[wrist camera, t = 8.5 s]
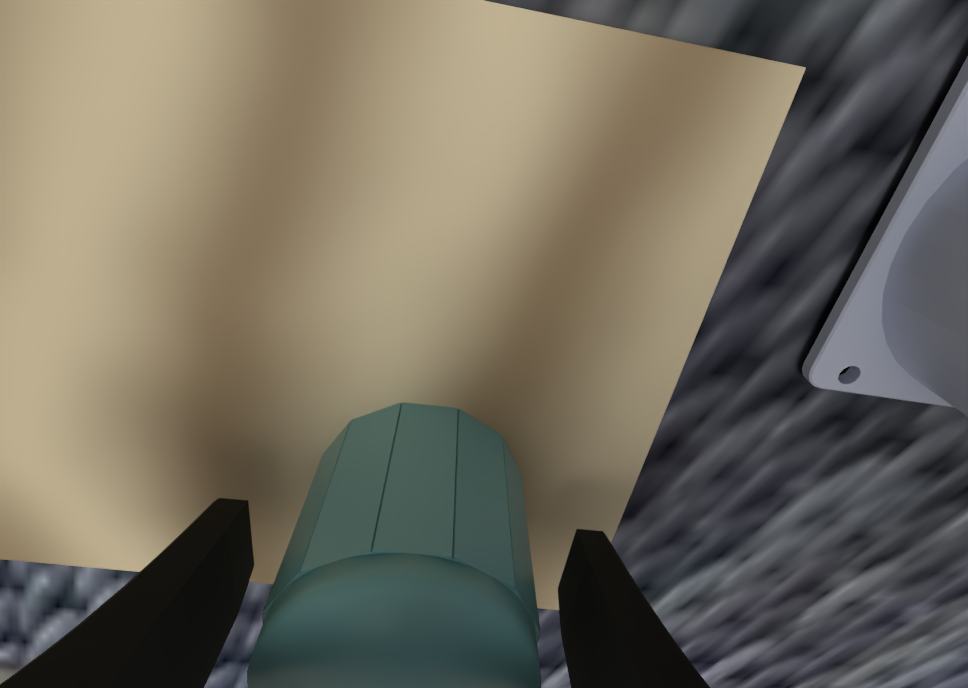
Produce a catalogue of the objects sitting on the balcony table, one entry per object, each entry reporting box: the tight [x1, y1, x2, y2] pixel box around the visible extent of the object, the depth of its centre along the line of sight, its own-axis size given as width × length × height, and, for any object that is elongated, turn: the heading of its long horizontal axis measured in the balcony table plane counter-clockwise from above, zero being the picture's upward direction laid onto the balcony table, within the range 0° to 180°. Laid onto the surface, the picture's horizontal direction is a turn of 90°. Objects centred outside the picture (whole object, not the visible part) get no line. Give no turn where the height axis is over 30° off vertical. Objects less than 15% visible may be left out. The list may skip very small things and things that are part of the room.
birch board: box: [0, 0, 806, 610], centre depth 12 cm, size 19×15×1 cm
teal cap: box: [247, 402, 541, 688], centre depth 11 cm, size 5×5×5 cm
